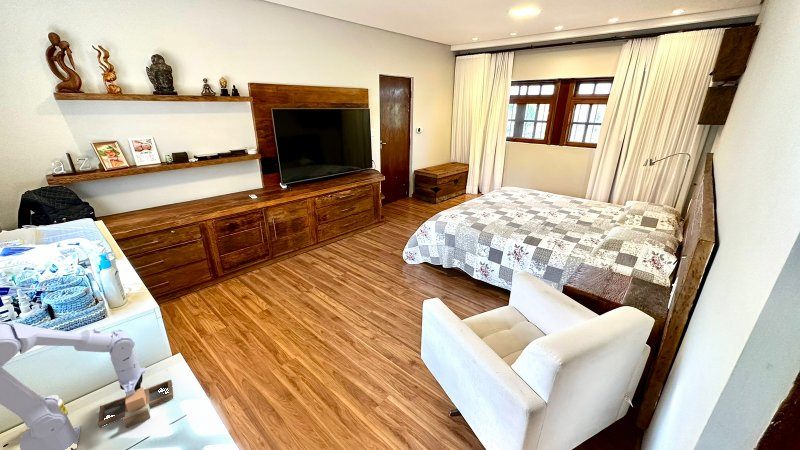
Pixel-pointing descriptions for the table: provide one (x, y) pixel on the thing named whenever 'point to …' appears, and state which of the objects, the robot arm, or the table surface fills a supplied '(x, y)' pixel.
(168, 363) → the table surface
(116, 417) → the board
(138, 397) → the block
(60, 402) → the supplement bottle
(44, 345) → the robot arm
